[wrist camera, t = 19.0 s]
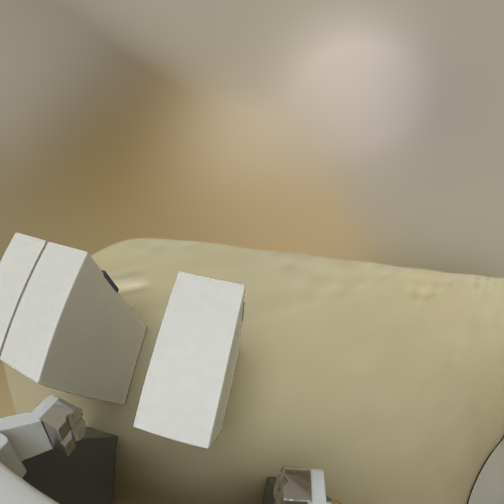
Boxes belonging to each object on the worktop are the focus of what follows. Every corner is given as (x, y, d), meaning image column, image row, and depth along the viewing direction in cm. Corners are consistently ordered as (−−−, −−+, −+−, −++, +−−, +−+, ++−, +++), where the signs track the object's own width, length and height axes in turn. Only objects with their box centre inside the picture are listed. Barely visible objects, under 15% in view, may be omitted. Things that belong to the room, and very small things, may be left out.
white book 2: (148, 325, 23) (89, 248, 13) (125, 404, 19) (38, 384, 9) (117, 316, 23) (49, 238, 13) (93, 392, 20) (-2, 358, 9)
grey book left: (117, 434, 18) (26, 435, 8) (113, 507, 14) (32, 550, 4) (85, 424, 18) (-14, 411, 8) (81, 496, 14) (-10, 522, 4)
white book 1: (115, 316, 23) (47, 238, 13) (92, 391, 20) (-3, 357, 9) (88, 307, 23) (16, 229, 13) (64, 378, 20) (-31, 336, 10)
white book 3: (240, 346, 23) (246, 281, 13) (221, 432, 19) (208, 449, 9) (203, 338, 23) (179, 267, 13) (182, 422, 19) (132, 426, 9)
